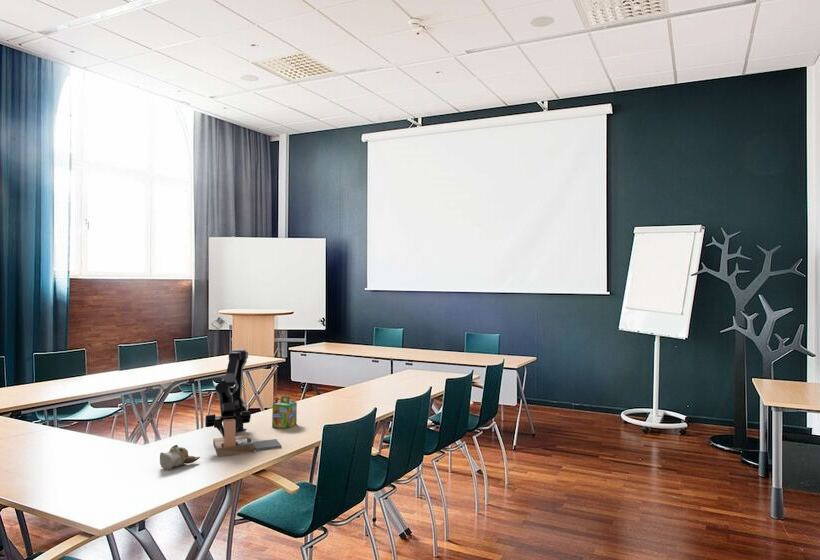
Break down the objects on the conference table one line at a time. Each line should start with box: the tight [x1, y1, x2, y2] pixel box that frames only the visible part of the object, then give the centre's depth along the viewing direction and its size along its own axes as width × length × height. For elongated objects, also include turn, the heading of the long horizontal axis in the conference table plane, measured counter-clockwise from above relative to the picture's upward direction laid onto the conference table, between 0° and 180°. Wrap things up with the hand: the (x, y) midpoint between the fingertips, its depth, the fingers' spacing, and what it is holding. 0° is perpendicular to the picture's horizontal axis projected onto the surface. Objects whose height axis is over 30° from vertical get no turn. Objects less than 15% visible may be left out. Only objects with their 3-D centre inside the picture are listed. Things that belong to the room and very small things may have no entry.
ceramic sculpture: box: [159, 444, 201, 470], centre depth 228 cm, size 11×9×15 cm
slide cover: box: [236, 437, 254, 446], centre depth 250 cm, size 8×6×2 cm
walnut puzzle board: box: [212, 434, 256, 458], centre depth 251 cm, size 20×15×2 cm
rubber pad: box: [252, 438, 282, 452], centre depth 254 cm, size 11×11×1 cm
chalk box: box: [271, 395, 298, 430], centre depth 288 cm, size 9×9×15 cm
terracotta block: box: [222, 419, 237, 447], centre depth 248 cm, size 4×4×13 cm
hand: (229, 435), depth 246 cm, fingers closed on terracotta block, 4 cm apart
